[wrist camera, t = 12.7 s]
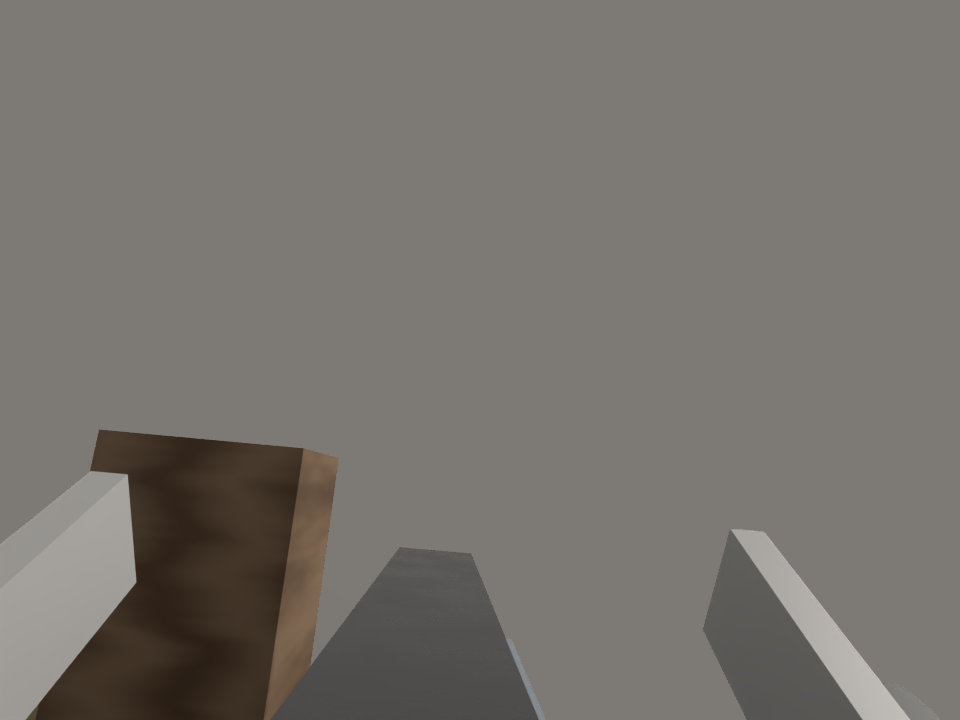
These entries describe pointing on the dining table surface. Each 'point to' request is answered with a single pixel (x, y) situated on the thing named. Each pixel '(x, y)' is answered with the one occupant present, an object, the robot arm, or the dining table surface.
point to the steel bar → (416, 651)
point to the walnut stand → (206, 583)
